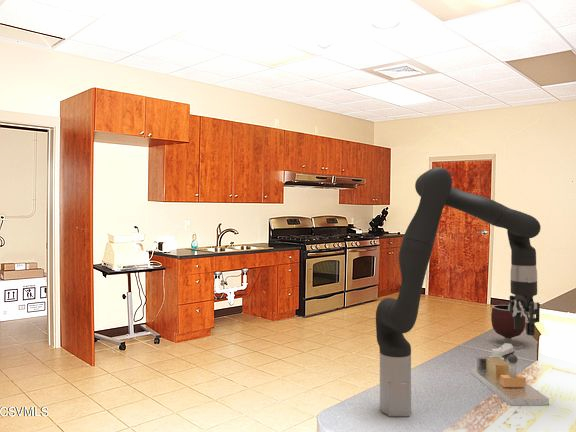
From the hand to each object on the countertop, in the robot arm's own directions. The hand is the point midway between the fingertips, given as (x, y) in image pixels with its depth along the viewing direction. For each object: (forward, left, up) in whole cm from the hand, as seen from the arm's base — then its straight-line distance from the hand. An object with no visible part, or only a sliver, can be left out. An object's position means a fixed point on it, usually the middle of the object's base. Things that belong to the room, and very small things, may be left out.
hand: (524, 331), depth 147 cm
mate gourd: (+64, -26, -22) cm, 72 cm away
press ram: (+7, 0, -20) cm, 21 cm away
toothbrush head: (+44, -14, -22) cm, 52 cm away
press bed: (+12, 0, -22) cm, 25 cm away
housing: (+18, 0, -20) cm, 27 cm away
